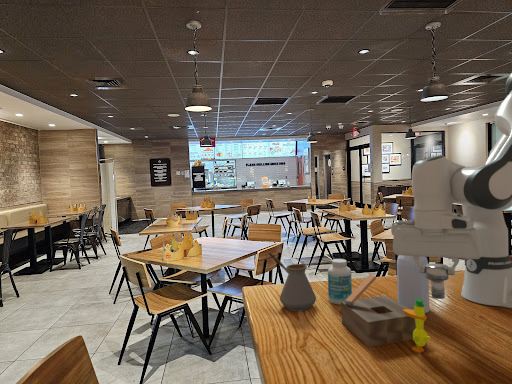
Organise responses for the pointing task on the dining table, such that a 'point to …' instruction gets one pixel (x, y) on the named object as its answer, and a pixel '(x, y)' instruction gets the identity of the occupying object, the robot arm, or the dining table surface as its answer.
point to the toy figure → (418, 325)
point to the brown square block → (378, 320)
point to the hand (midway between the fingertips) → (436, 273)
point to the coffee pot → (296, 288)
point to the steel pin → (437, 279)
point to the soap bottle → (412, 282)
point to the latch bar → (360, 290)
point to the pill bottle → (339, 281)
